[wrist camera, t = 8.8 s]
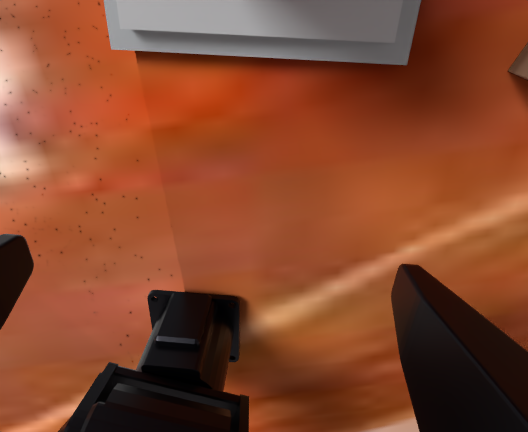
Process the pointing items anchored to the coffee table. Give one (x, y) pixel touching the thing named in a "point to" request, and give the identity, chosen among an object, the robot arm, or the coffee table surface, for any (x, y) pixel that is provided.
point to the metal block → (521, 64)
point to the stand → (268, 28)
